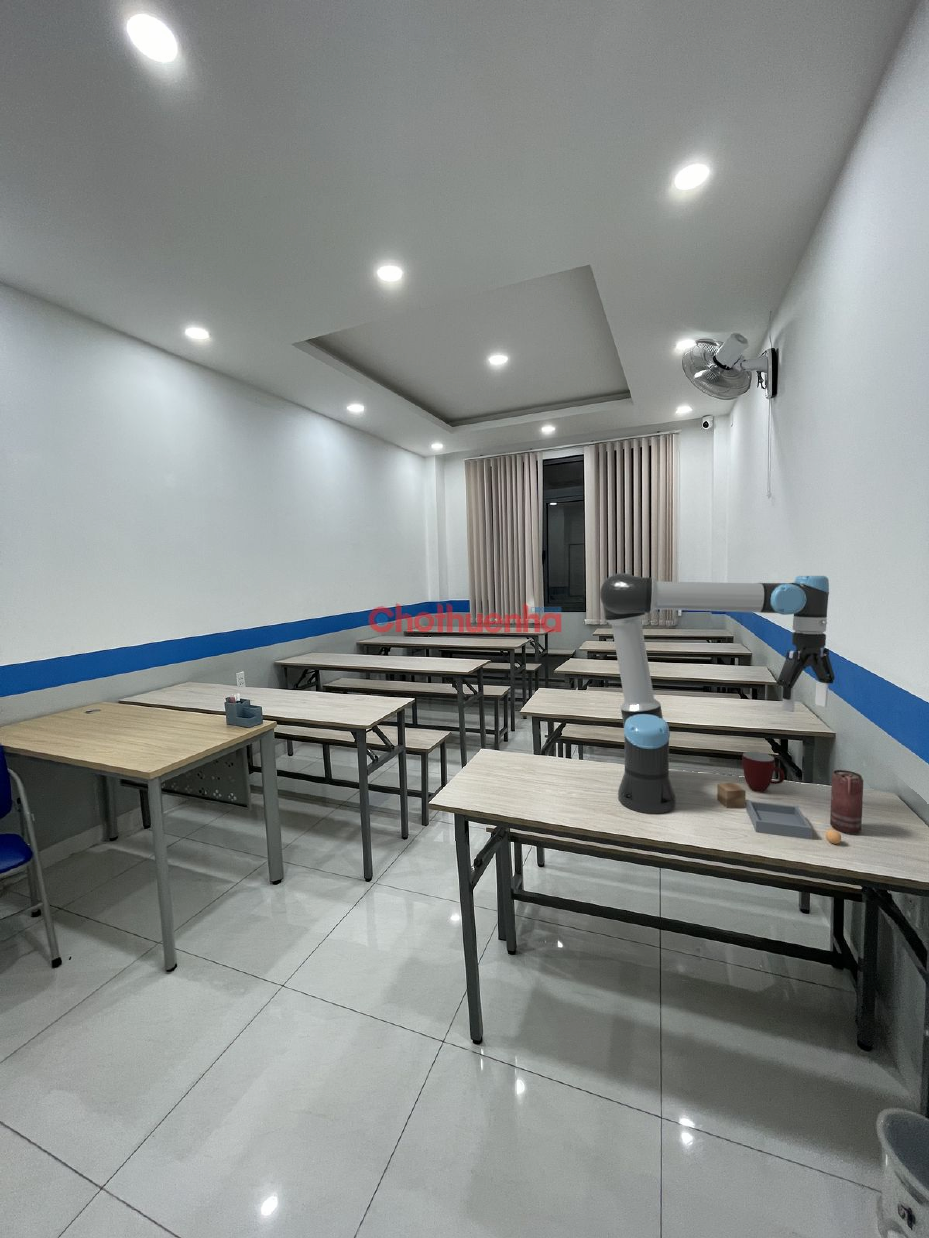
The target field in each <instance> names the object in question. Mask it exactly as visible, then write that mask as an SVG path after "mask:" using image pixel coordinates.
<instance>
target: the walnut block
mask: <svg viewBox="0 0 929 1238" xmlns="http://www.w3.org/2000/svg"><path fill="white" fill-rule="evenodd" d="M716 792H717V794H716V796H717V797H716V800H717V801H718V802H719V803H720V804H721V805H722V806H723V807H724V808H726V809H742V808H743V809H745V808H746V793H747V792H746V789H744V788H743V787H742V786H741V785H739V784H738V783H737V782H719V783H718V782H717V791H716Z"/></svg>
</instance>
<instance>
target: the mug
mask: <svg viewBox="0 0 929 1238" xmlns="http://www.w3.org/2000/svg"><path fill="white" fill-rule="evenodd" d="M741 759H742V760H741V763H742V768H743V769H742V770H743V775H744V780H745V782H746V785H747V786H748V787H749V789H750V790H751V791H753V792H756V793H765V792H766V791H767V790H768V788H770V786H771V785H780V784H782V783H784V781H785V777H786V776H785V773H784V771H783V769H781V768H780V767H778V766H776V765H775V757H774V756H773V755H771V754H768V753H765V752H759V751H745V752H743V753H742V757H741ZM775 771H777V772H778V773H779V774H780V779H779V780H773V776H774V772H775Z"/></svg>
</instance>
